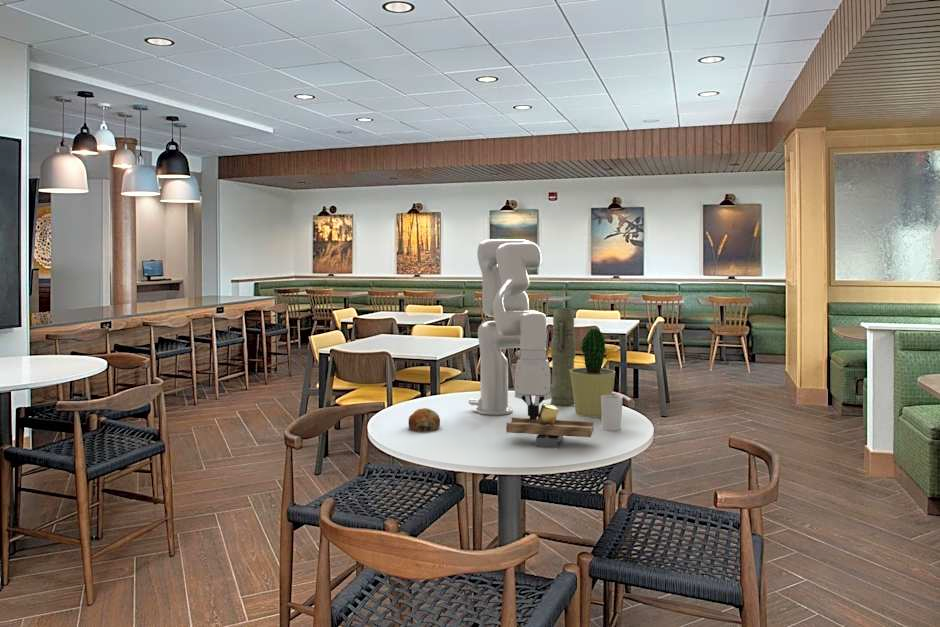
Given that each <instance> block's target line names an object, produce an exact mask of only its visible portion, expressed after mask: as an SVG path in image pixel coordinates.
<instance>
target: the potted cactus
mask: <svg viewBox="0 0 940 627" xmlns="http://www.w3.org/2000/svg"><path fill="white" fill-rule="evenodd" d="M603 331H604V330H603ZM603 331H602V330H601V329H598V328H592V327H590V329H588V330H586V331H585V332H584V333H585V334H584V336H583V338H582V341H581V342H580V349H581V350H580V351H581V353H582V354H581V356H582V358H583V359H582V362H583V364H584V366H585V367H577V368H574V369H571V370H570V375H571V382H572V390H573V397H574V405H573V406H574V411H575V415H577V416H581V417H585V418H602V411H601V396H602V395H613V390H614V384H615V377H616V371H615V370H613V369H611V368H609V369H608V368H603V365H604V360H605V359H606V358H607V357H605V356H606V355H605V354H608V353H607V349H608V348H607V346H606V342H608V339H606V335H605V336H604V332H603Z"/></svg>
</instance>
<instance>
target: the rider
mask: <svg viewBox="0 0 940 627" xmlns="http://www.w3.org/2000/svg"><path fill="white" fill-rule="evenodd" d="M559 412H560V409H559V408H558V407H556V405H553V404H551V403H542V405H541V407H540V409H539V415H538V416H537V418H536V419H537V422H538V423H539V424H541V425H547V424H550V425H554V423H555V420H557V416H558V414H559Z"/></svg>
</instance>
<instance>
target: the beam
mask: <svg viewBox="0 0 940 627" xmlns="http://www.w3.org/2000/svg"><path fill="white" fill-rule="evenodd" d="M594 429H595V428H594V421H589V420H588V421H587V420H572V419H571V420H569V419H567V420H566V419H556V420H555V423H554V425H550V424H547V425H541V424H539V423H538V422H537V418H536V419H535V420H533V419H530V417H514V416H512V417H511V421H510V422H506V428H505V431H506V433H508V434H509V433H510V434H511V433H512V434H523V435H524V434H525V435H556V436H563V437H575V438H592V434H593V432H594Z"/></svg>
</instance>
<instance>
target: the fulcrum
mask: <svg viewBox="0 0 940 627" xmlns="http://www.w3.org/2000/svg"><path fill="white" fill-rule="evenodd" d="M563 439H564V436H556V435H539V434H537V436H536V440H535V443H536V444H535V447H537V448H551V449H558V448H559V446H560V445H561V443H562V441H563Z"/></svg>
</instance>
